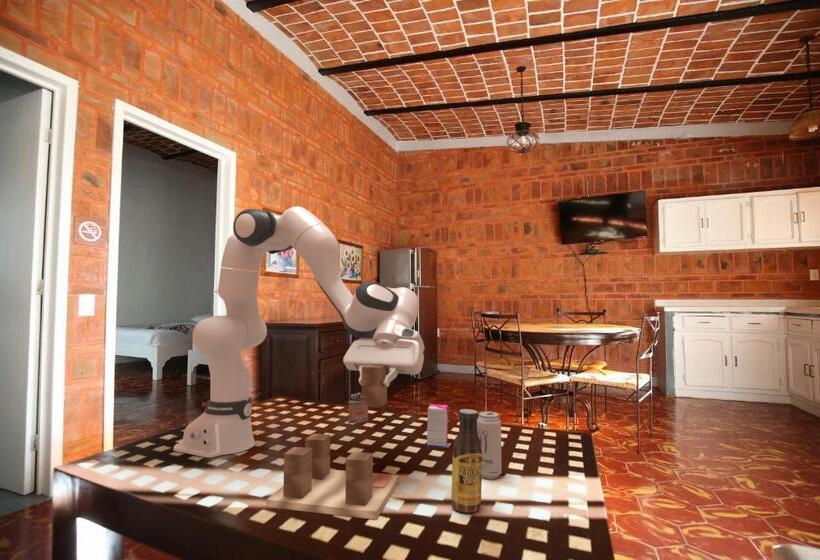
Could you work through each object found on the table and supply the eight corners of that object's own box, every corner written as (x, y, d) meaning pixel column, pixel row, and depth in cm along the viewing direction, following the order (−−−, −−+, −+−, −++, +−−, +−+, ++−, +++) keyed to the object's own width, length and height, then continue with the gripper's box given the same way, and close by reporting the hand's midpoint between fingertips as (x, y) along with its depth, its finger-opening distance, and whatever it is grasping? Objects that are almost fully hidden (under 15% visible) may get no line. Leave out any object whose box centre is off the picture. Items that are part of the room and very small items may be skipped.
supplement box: (446, 448, 125) (446, 409, 125) (426, 447, 126) (426, 407, 127) (448, 442, 130) (448, 404, 131) (429, 440, 132) (429, 403, 132)
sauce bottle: (458, 516, 85) (457, 415, 86) (446, 502, 91) (446, 408, 92) (488, 512, 86) (487, 413, 88) (474, 498, 92) (474, 406, 94)
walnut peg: (361, 406, 98) (361, 366, 99) (370, 401, 102) (370, 364, 103) (378, 407, 96) (378, 367, 97) (386, 403, 100) (386, 365, 101)
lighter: (365, 418, 157) (365, 391, 158) (370, 420, 155) (370, 392, 155) (346, 422, 152) (346, 393, 153) (351, 424, 150) (351, 395, 150)
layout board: (266, 506, 89) (267, 455, 89) (305, 473, 106) (306, 430, 107) (376, 519, 83) (376, 465, 84) (398, 482, 101) (398, 437, 102)
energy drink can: (471, 474, 106) (471, 413, 106) (487, 468, 109) (487, 409, 110) (491, 482, 101) (490, 418, 102) (506, 475, 105) (505, 414, 106)
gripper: (351, 330, 111) (330, 373, 101) (424, 332, 103) (408, 379, 93) (359, 345, 114) (339, 389, 105) (430, 348, 107) (416, 395, 97)
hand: (373, 384), depth 99 cm, fingers closed on walnut peg, 4 cm apart
